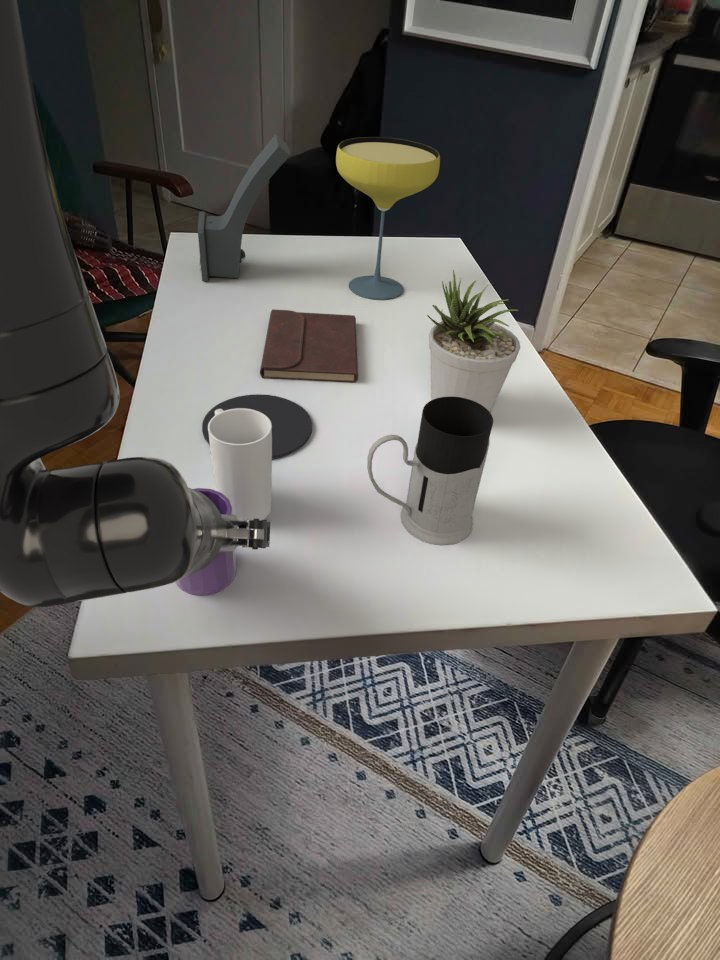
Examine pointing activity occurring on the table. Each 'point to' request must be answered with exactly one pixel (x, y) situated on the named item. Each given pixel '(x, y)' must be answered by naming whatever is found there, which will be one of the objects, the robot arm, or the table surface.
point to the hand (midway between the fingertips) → (203, 532)
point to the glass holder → (443, 469)
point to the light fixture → (236, 216)
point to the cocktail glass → (385, 189)
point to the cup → (221, 566)
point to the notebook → (310, 347)
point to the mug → (243, 460)
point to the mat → (272, 420)
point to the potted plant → (470, 350)
